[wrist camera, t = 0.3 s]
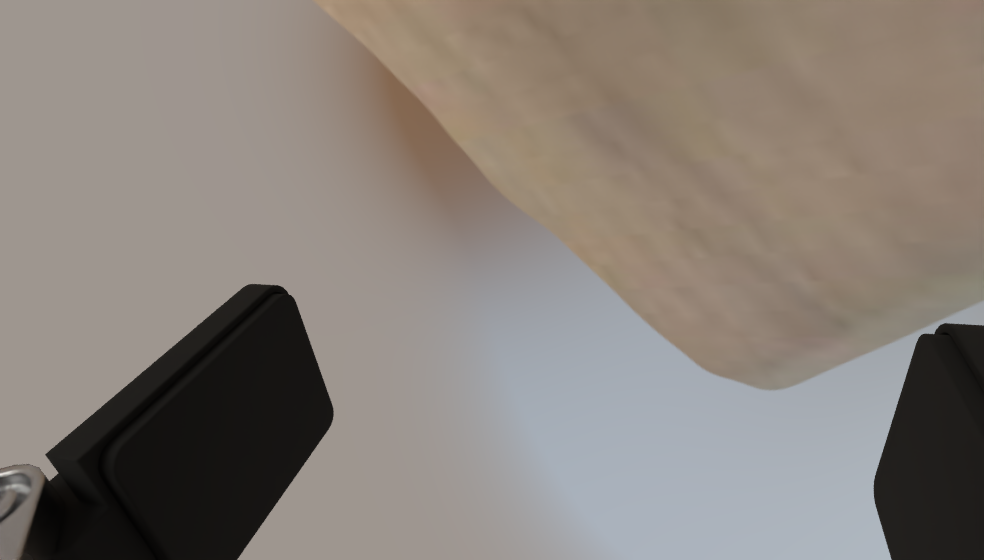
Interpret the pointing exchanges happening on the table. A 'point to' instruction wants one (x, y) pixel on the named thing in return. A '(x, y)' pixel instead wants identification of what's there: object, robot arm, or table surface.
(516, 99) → the table surface
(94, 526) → the robot arm
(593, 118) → the table surface
